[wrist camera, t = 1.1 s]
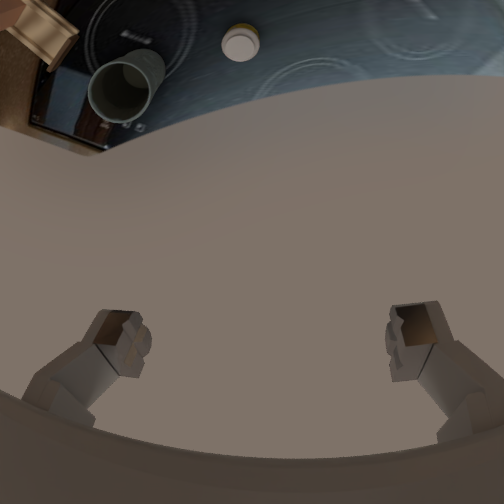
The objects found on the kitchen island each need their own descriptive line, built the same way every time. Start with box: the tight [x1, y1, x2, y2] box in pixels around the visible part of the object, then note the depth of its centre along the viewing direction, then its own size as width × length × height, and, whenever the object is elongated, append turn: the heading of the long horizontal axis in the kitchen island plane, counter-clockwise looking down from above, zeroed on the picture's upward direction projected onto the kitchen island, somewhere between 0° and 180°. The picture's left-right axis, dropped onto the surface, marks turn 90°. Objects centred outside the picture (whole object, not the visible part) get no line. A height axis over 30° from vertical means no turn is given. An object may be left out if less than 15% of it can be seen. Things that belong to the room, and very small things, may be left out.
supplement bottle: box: [222, 23, 260, 62], centre depth 38 cm, size 5×5×10 cm
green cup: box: [88, 49, 166, 123], centre depth 41 cm, size 10×10×12 cm
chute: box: [6, 0, 79, 73], centre depth 31 cm, size 25×9×4 cm, turn 38°
